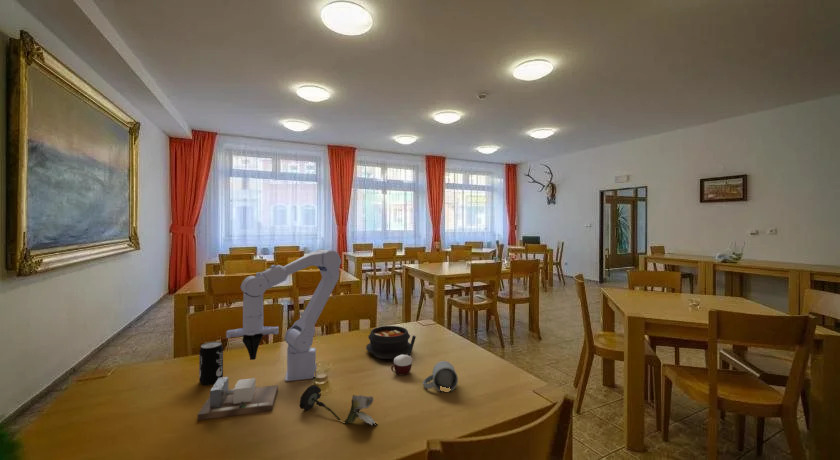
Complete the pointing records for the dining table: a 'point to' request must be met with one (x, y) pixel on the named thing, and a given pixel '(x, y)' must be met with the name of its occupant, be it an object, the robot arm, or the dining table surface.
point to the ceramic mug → (442, 376)
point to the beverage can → (210, 363)
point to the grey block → (218, 393)
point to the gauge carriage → (243, 391)
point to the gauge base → (259, 403)
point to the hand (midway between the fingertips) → (253, 358)
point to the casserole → (388, 342)
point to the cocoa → (404, 361)
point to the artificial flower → (312, 396)
